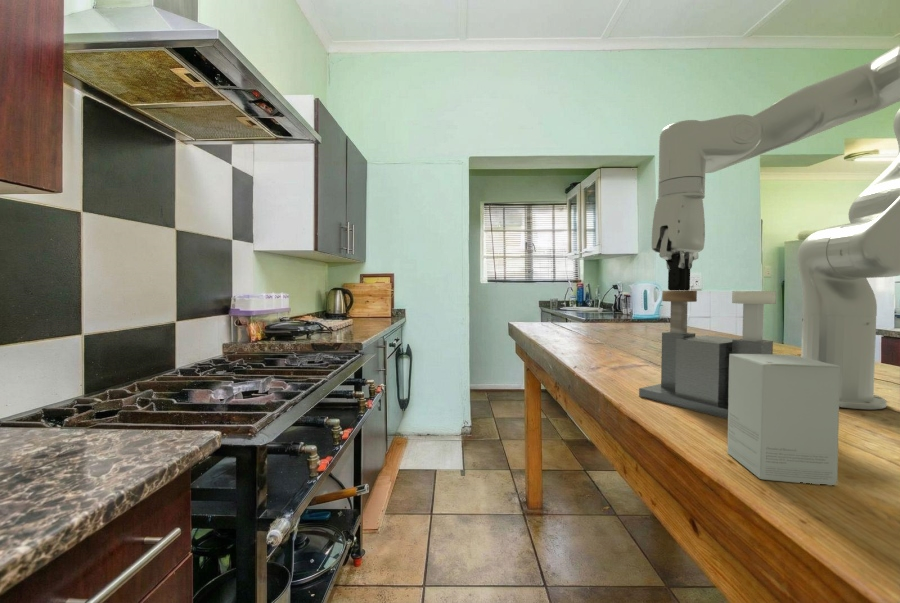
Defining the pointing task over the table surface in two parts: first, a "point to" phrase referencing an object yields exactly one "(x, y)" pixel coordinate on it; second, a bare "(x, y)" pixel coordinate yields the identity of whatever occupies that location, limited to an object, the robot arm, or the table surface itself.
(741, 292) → the cream plunger
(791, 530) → the table surface
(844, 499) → the table surface
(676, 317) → the walnut plunger
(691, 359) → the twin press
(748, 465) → the supplement box
